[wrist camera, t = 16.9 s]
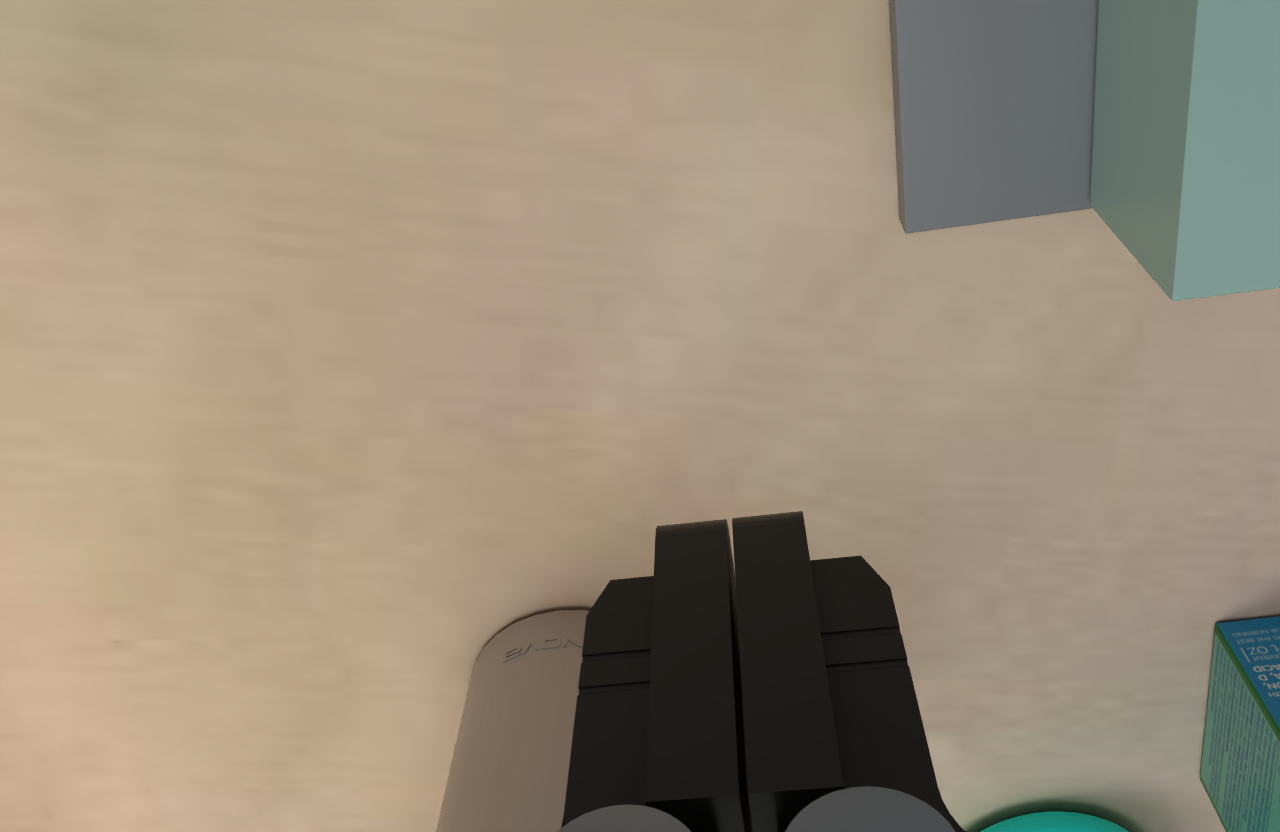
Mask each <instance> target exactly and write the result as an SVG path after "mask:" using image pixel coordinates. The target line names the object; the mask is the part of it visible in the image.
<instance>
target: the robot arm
mask: <svg viewBox="0 0 1280 832" xmlns="http://www.w3.org/2000/svg"><path fill="white" fill-rule="evenodd" d="M732 526H733V544H734V562H735V572H734V564H733V557H732V550H731V543H730V535H729V529H728V523H727V520H726V519H724V520H714V521H704V522H694V523H685V524H675V525H665V526H657V528H656V537H655V562H654V576H649V577H639V578H629V579H618V580H610V582H609V583H608V585H607V586H606V588H605V589H604V591H603V592H602V594H601V595H600V596H599V598H598V599H597V601H596V602H595V604H594V605H593V607H592V608H591V610H590V611H588V610H558V611H553V612H547V613H542V614H537V615H534V616H531V617H529V618H526V619H523V620H521V621H518V622H516V623H514V624H512V625H511V626H509V627H507V628H506V629H504V630H503V631H501V632H500V633H498V634H497V635H496V636H495V637H494V638H493V639H492V640H491V641H490V642H489V643H488V644H487V645H486V646H485V647H484V648H483V649H482V651H481V653H480V655H479V656H478V658H477V660H476V662H475V663H474V667H473V671H472V675H471V679H470V684H469V688H468V693H467V697H466V702H465V706H464V710H463V715H462V719H461V724H460V728H459V733H458V737H457V741H456V744H455V749H454V753H453V758H452V762H451V767H450V771H449V776H448V781H447V785H446V790H445V794H444V799H443V803H442V808H441V812H440V817H439V822H438V826H437V831H436V832H966V831H965V830H963V829H962V828H961V827H960V826H959V825H958V823H957V822H956V821H955V819H954V818H953V817H952V816H951V814H950V813H949V811H948V810H947V808H946V806H945V804H944V802H943V800H942V798H941V795H940V792H939V789H938V786H937V782H936V778H935V773H934V769H933V765H932V761H931V757H930V752H929V748H928V744H927V740H926V736H925V731H924V727H923V723H922V719H921V715H920V711H919V706H918V702H917V698H916V694H915V690H914V685H913V681H912V677H911V673H910V669H909V666H908V663H907V656H906V652H905V648H904V644H903V639H902V635H901V634H900V628H899V623H898V618H897V614H896V610H895V606H894V602H893V597H892V593H891V589H890V587H889V585H888V584H887V583H886V582H885V581H884V580H883V579H882V578H881V577H880V576H879V575H878V574H877V573H876V571H875V570H874V569H873V568H872V567H871V566H870V565H869V564H868V563H867V562H866V561H865V560H864V559H863V557H862V556H852V557H842V558H832V559H821V560H811V561H810V557H809V551H808V544H807V537H806V531H805V524H804V517H803V512H802V511H800V512H790V513H780V514H770V515H760V516H751V517H741V518H732Z"/></svg>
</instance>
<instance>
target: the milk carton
mask: <svg viewBox="0 0 1280 832" xmlns="http://www.w3.org/2000/svg"><path fill="white" fill-rule="evenodd" d="M1200 780H1201V782H1202V784H1203V786H1204V788H1205V790H1206V792H1207V794H1208V796H1209V798H1210V800H1211V802H1212V804H1213V806H1214V808H1215V810H1216V812H1217V814H1218V816H1219V818H1220V820H1221V822H1222V824H1223V827H1224V829H1225V831H1226V832H1280V616H1277V617H1268V618H1259V619H1250V620H1241V621H1232V622H1223V623H1216V628H1215V638H1214V648H1213V658H1212V667H1211V677H1210V687H1209V697H1208V706H1207V716H1206V726H1205V736H1204V746H1203V755H1202V765H1201V775H1200Z"/></svg>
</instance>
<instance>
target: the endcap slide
mask: <svg viewBox="0 0 1280 832" xmlns="http://www.w3.org/2000/svg"><path fill="white" fill-rule="evenodd" d="M1090 205H1091V207H1092V208H1093V209H1094V210H1095V211H1096V212H1097V214H1098V215H1099V216H1100V217H1101V218H1102V220H1103V221H1104V222H1105V223H1106V224H1107V225H1108V227H1109V228H1110V229H1111V230H1112V231H1113V232H1114V234H1115V235H1116V236H1117V237H1118V238H1119V239H1120V241H1121V242H1122V243H1123V244H1124V245H1125V246H1126V248H1127V249H1128V250H1129V251H1130V252H1131V253H1132V255H1133V256H1134V257H1135V258H1136V259H1137V260H1138V262H1139V263H1140V264H1141V265H1142V266H1143V268H1144V269H1145V270H1146V271H1147V272H1148V273H1149V275H1150V276H1151V277H1152V278H1153V279H1154V280H1155V282H1156V283H1157V284H1158V285H1159V286H1160V287H1161V289H1162V290H1163V291H1164V292H1165V293H1166V294H1167V296H1168V297H1169V298H1170V299H1171V300H1172V301H1178V300H1186V299H1194V298H1202V297H1210V296H1218V295H1226V294H1234V293H1241V292H1249V291H1257V290H1265V289H1273V288H1280V0H1099V8H1098V31H1097V55H1096V78H1095V102H1094V125H1093V149H1092V172H1091V196H1090Z"/></svg>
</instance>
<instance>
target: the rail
mask: <svg viewBox="0 0 1280 832" xmlns="http://www.w3.org/2000/svg"><path fill="white" fill-rule="evenodd" d="M1098 8H1099V0H889V9H890V31H891V52H892V73H893V94H894V115H895V136H896V158H897V179H898V200H899V220H900V222H901V224H902V226H903V229H904V231H905V233H906V234H907V233H914V232H921V231H929V230H936V229H943V228H951V227H958V226H965V225H973V224H980V223H987V222H995V221H1002V220H1009V219H1017V218H1024V217H1031V216H1039V215H1046V214H1053V213H1061V212H1068V211H1075V210H1083V209H1090V208H1092V207H1091V205H1090V196H1091V172H1092V149H1093V125H1094V102H1095V78H1096V55H1097V31H1098Z"/></svg>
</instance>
